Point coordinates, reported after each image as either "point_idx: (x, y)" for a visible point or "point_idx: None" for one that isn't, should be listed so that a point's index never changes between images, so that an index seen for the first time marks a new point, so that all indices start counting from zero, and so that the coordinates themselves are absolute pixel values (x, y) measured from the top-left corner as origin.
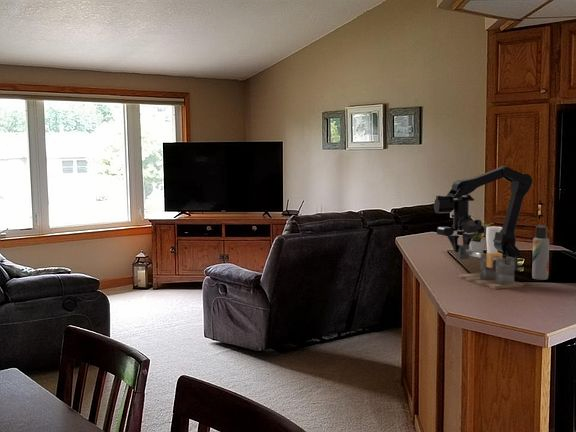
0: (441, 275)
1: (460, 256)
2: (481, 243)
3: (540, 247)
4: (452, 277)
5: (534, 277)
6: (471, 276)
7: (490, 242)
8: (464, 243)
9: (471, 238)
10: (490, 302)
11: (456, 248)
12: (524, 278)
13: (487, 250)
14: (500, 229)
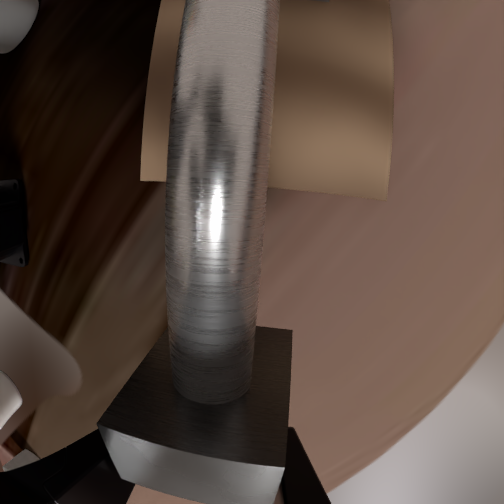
0: (415, 306)
1: (284, 348)
2: (12, 468)
3: None
4: (408, 215)
5: (34, 8)
6: (334, 87)
7: None
8: (119, 489)
9: (6, 476)
10: None
11: (298, 460)
12: (52, 28)
13: (1, 422)
14: None
